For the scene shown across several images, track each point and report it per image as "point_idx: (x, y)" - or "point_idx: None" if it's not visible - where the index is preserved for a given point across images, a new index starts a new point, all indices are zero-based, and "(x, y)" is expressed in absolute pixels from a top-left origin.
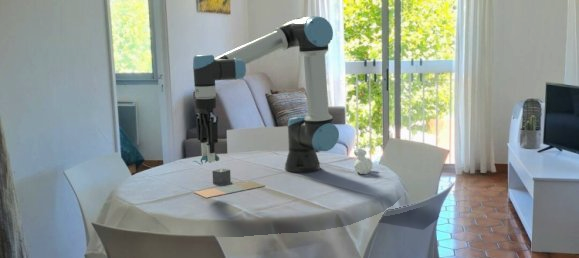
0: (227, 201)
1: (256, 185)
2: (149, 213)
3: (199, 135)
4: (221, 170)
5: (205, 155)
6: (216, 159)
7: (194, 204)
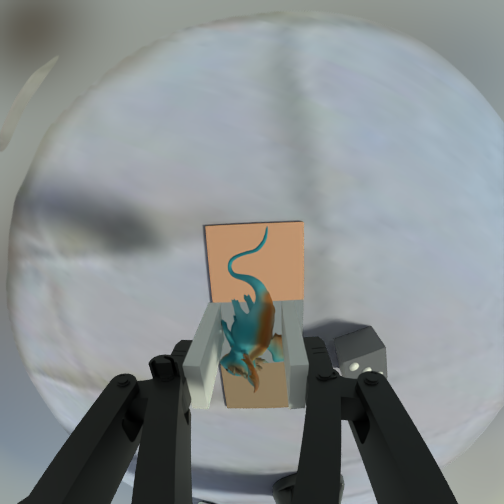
0: (137, 264)
1: (242, 397)
2: (167, 35)
3: (367, 407)
4: (363, 370)
5: (283, 330)
6: (227, 354)
7: (163, 165)
